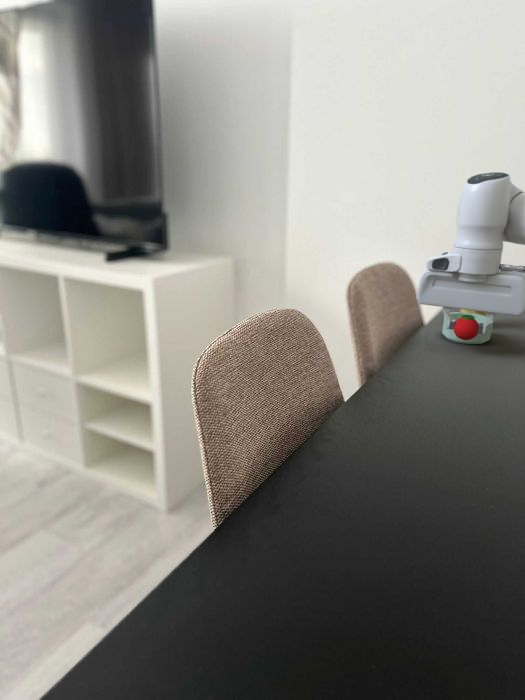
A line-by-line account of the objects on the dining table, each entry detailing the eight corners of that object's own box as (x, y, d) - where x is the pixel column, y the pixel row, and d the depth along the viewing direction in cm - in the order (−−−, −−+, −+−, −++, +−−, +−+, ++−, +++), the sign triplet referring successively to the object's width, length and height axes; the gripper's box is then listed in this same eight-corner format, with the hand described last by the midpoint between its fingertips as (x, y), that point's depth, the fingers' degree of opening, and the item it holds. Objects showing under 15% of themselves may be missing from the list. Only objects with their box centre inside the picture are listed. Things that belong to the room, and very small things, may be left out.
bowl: (477, 331, 118) (480, 312, 117) (498, 345, 109) (501, 324, 107) (435, 331, 118) (437, 312, 116) (452, 344, 108) (455, 324, 107)
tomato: (471, 336, 106) (474, 313, 104) (481, 343, 101) (485, 319, 100) (448, 336, 106) (451, 313, 104) (457, 343, 101) (461, 319, 100)
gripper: (536, 264, 96) (524, 334, 101) (425, 255, 106) (418, 320, 110) (535, 269, 91) (521, 343, 96) (418, 259, 100) (411, 327, 105)
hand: (465, 330), depth 103 cm, fingers closed on tomato, 4 cm apart
